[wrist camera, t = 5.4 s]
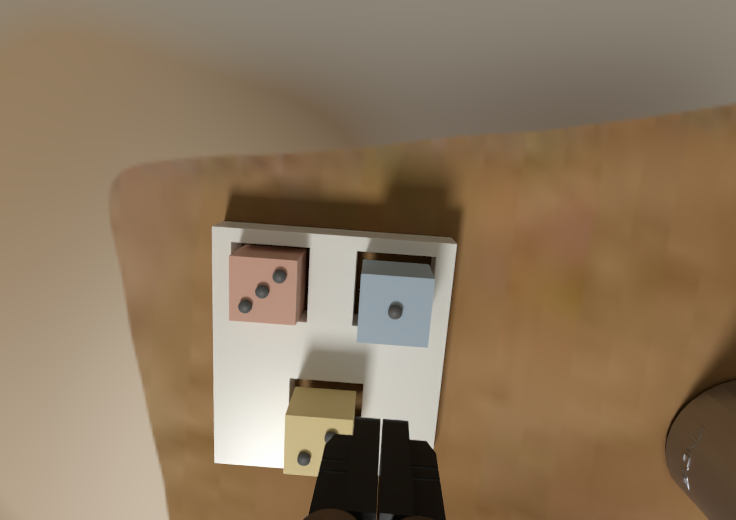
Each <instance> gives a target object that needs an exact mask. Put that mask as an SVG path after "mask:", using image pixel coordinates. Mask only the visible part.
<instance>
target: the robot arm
mask: <svg viewBox="0 0 736 520" xmlns="http://www.w3.org/2000/svg"><path fill="white" fill-rule="evenodd" d="M380 422H381V419H378V418H366V417H355V423H354V430H353V435H344V434H335V435H334V436H333V437H332V438H331V439H330V440H329V441H328V442H327V443H326V444H325V447H324V451H323V456H322V461H321V464H320V468H319V473H318V477H317V481H316V485H315V490H314V494H313V498H312V502H311V507H310V511H309V515H308V516H306V517H305V518H304V519H303V520H376V513H377V520H446V518H445V511H444V505H443V498H442V491H441V484H440V478H439V471H438V464H437V458H436V453H435V452H434V450H433V449H432V448H431V446H430V445H429V444H428V442H427V441H421V440H410V439H409V423H408V421H405V420H392V419H383V423H382V437H381V451H380V466H379V445H380ZM665 453H666V461H667V466H668V468H669V471H670V473H671V476H672V477H673V479H674V480H675V481H676V483H677V484H678V485H679V487H680V488H681V489H682V490H683V491H684V492H685V493H686V494H687V496H688V497H689V498H690V499H691V500H692V501H693V502H694V503H695V504H696V506H697V507H698V508H699V509H700V510H701V511H702V512H703V513H704V515H705V516H706V517H707V518H708V519H709V520H736V380H733V381H730V382H726V383H723V384H719V385H717V386H715V387H713V388H711V389H709V390H707V391H705V392H703V393H702V394H700V395H699V396H698V397H696V398H695V399H693V400H692V401H691V402H690V403H689V404H688V405H687V406H686V407H685V408H684V409H683V410H682V411H681V412H680V413H679V415H678V417H677V418H676V420H675V421H674V423H673V424H672V426H671V429H670V432H669V434H668V437H667V443H666V450H665ZM378 468H379V482H378ZM377 490H378V504H377Z"/></svg>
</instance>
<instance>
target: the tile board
mask: <svg viewBox="0 0 736 520" xmlns="http://www.w3.org/2000/svg"><path fill="white" fill-rule="evenodd" d="M242 243H252V244H266V245H280V246H293V247H307V248H310V259H309V284H308V309H307V310H303V311H302V313H301V315H300V317H299V319H298V321H297V323H296V325H283V324H269V323H256V322H243V321H229V255H231V254H232V253H234V252H235V251H237V250H238V249H240V248H241V247H242ZM456 249H457V243H456V242H455V241H454V240H453V239H452V237H439V236H425V235H411V234H397V233H383V232H369V231H356V230H342V229H328V228H314V227H300V226H286V225H273V224H259V223H245V222H231V221H223V222H221V223H218V224H216V225H214V226H212V284H213V374H214V463H223V464H235V465H248V466H261V467H274V468H284V437H285V414H286V411H287V408H288V406H289V403H290V400H291V398H292V395H293V392H294V389H295V379H306V380H320V381H333V382H346V383H359V384H363V398H362V412H361V417H366V418H378V419H381V422H380V445H379V466H380V451H381V437H382V423H383V419H392V420H405V421H408V423H409V439H410V440H421V441H427V442H428V444H429V445H430V446H431V448H432V449H433V448H434V439H435V431H436V422H437V413H438V405H439V396H440V387H441V379H442V370H443V361H444V353H445V344H446V336H447V327H448V318H449V310H450V301H451V292H452V284H453V275H454V267H455V258H456ZM358 251H362V252H376V253H390V254H403V255H417V256H431V257H432V258H431V271H432V273H433V275H434V278H435V285H434V295H433V304H432V313H431V323H430V332H429V342H428V348H424V347H411V346H397V345H384V344H371V343H357V328H358V314H354V307H355V291H356V276H357V260H358ZM378 476H379V468H378Z"/></svg>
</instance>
